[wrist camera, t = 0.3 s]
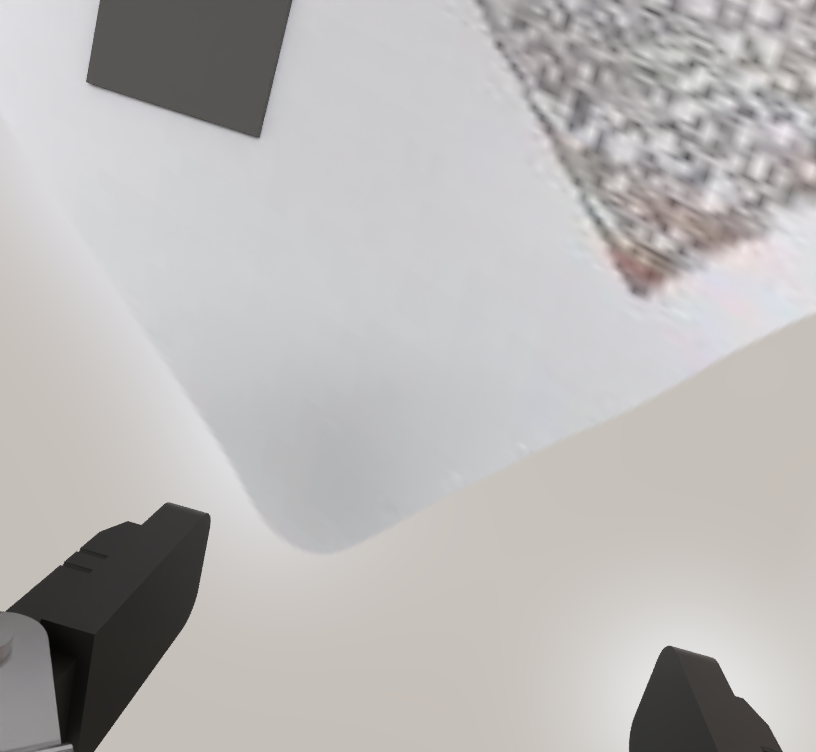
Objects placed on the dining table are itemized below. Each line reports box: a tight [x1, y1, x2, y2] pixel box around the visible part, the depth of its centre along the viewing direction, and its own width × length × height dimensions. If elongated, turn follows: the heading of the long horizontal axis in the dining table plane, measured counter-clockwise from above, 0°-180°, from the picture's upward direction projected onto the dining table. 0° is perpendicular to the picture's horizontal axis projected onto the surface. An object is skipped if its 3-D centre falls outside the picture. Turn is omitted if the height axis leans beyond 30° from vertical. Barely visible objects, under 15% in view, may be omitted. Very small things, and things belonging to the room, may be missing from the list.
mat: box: [86, 0, 292, 137], centre depth 37 cm, size 10×10×1 cm
